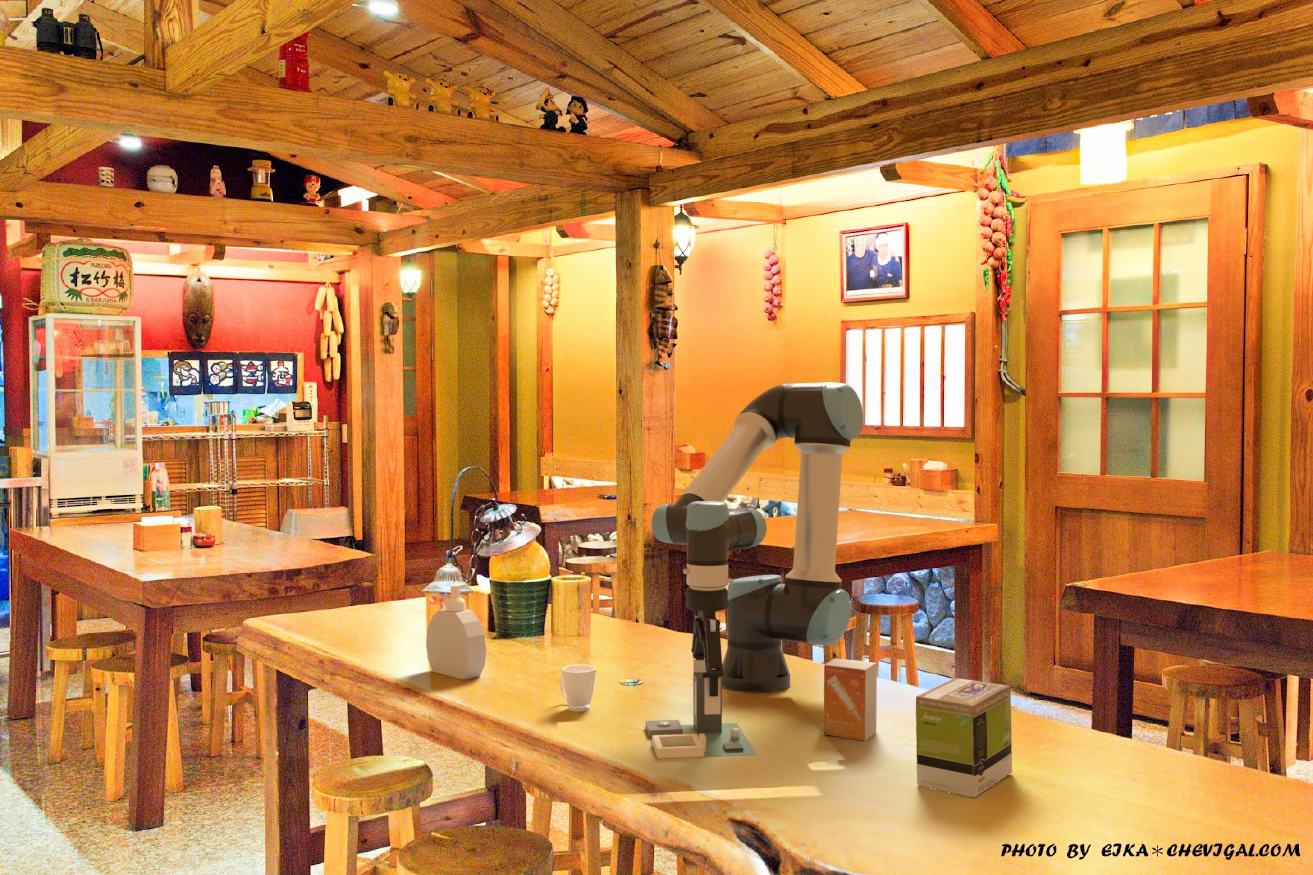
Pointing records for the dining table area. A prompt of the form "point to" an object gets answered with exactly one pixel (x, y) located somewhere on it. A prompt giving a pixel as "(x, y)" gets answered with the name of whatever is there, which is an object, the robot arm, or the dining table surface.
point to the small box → (850, 698)
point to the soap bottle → (456, 640)
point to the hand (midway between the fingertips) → (706, 704)
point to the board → (721, 741)
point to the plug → (700, 720)
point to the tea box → (963, 736)
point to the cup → (578, 686)
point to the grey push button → (663, 727)
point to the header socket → (679, 751)
